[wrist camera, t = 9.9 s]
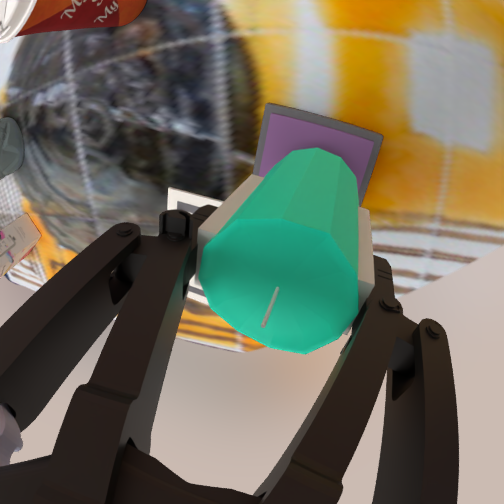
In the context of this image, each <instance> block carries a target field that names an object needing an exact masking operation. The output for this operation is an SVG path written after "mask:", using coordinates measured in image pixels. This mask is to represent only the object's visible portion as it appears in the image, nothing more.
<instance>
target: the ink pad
mask: <svg viewBox="0 0 504 504" xmlns="http://www.w3.org/2000/svg"><path fill="white" fill-rule="evenodd" d="M382 140H383V135H382V134H379V133H376V132H373V131H370V130H367V129H364V128H361V127H358V126H355V125H352V124H349V123H345V122H342V121H339V120H335V119H332V118H328V117H325V116H321V115H318V114H314V113H310V112H306V111H302V110H298V109H294V108H290V107H286V106H281V105H277V104H272V103H266V106H265V111H264V116H263V121H262V126H261V132H260V137H259V142H258V148H257V153H256V158H255V164H254V169H253V175H257V176H260V177H265V176H266V174H267V173H268V172H269V171H270V170H271V169H272V168H273V167H274V166H275V165H276V164H277V163H278V162H279V161H281V160H282V159H283V158H284V157H286V156H287V155H288V154H289V153H291V152H292V151H294V150H301V149H309V148H320V149H322V150H325V151H327V152H329V153H332V154H334V155H337V156H339V157H341V158H342V159H343V161H344V162H345V163H346V164H347V166H348V167H349V168H350V170H351V171H352V172H353V174H354V175H355V176H356V180H357V189H358V198H359V207H360V206H361V204H362V201H363V198H364V195H365V192H366V189H367V186H368V184H369V181H370V178H371V175H372V172H373V169H374V165H375V162H376V159H377V156H378V153H379V150H380V146H381V143H382Z"/></svg>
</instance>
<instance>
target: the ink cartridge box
mask: <svg viewBox="0 0 504 504" xmlns="http://www.w3.org/2000/svg"><path fill="white" fill-rule="evenodd" d="M40 237H41V234H40V232H39V231H38V229H37V228H36V227H35V225H34V223H33V222H32V220H31V219H30V217H29V216H28V214H27V213H25V214H24V215H22V216H21V217H19V218H18V219H16V220H15V221H13V222H12V223H11V224H9V225H8V226H6V227H5V228H3V229H2V230H1V231H0V278H1V277H2V276H3V275H4V274H6V273H7V272H8V271H9V270H10V269H11V268H13V267H14V266H15V265H16V264H18V263H19V262H20V261H21V260H22V259H24V258H25V257H26V256H27V255H29V254H30V252H31V250H32V249H33V247H34V246H35V244H36V243H37V241H38V240H39V238H40Z"/></svg>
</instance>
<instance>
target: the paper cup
mask: <svg viewBox="0 0 504 504" xmlns="http://www.w3.org/2000/svg"><path fill="white" fill-rule="evenodd" d="M146 2H147V0H0V43H6V42H9V41H10V40H11V39H13V38H14V37H17V36H23V35H28V34H34V33H42V32H51V31H62V30H72V29H82V28H96V27H117V26H123V25H126V24H128V23H130V22H132V21H133V20H134V19H135V18H137V17H138V15H139V14H140V13H141V12H142V10H143V8H144V7H145V4H146Z"/></svg>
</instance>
